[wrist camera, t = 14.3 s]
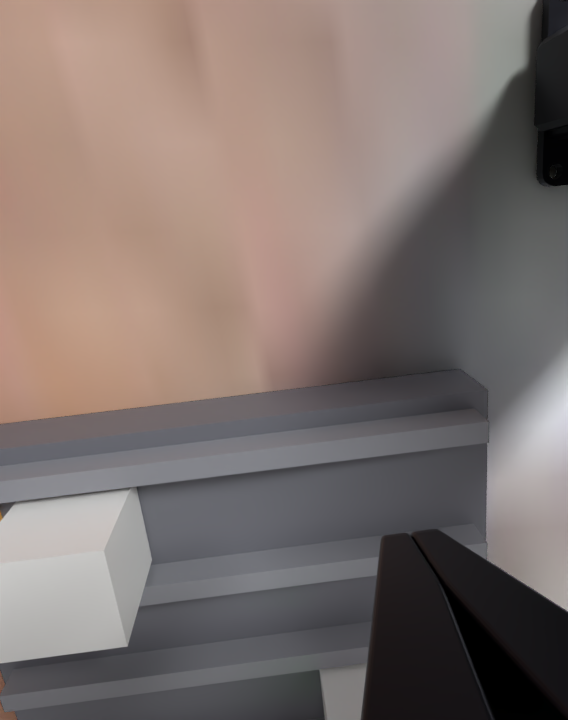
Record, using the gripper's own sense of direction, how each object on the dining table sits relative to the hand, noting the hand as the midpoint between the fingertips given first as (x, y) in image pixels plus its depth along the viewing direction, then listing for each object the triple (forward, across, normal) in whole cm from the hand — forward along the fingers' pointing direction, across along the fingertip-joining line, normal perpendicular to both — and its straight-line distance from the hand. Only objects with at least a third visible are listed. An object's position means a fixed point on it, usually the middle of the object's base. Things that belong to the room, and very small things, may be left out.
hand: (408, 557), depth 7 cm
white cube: (+10, +9, +6) cm, 15 cm away
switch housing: (+13, +4, +10) cm, 17 cm away
